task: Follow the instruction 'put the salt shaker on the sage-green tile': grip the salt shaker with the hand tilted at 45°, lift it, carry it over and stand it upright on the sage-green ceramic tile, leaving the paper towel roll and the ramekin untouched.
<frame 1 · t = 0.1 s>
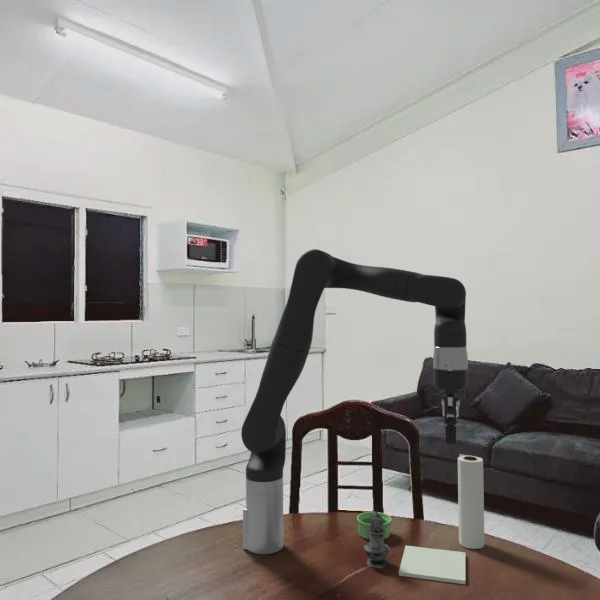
hand: (451, 439, 121), 29 cm above the table, tool pointing down, fingers open, 8 cm apart
salt shaker: (377, 564, 124), on the table
paper towel roll: (471, 544, 134), on the table
sage tile: (433, 565, 123), on the table
ramekin: (374, 535, 140), on the table
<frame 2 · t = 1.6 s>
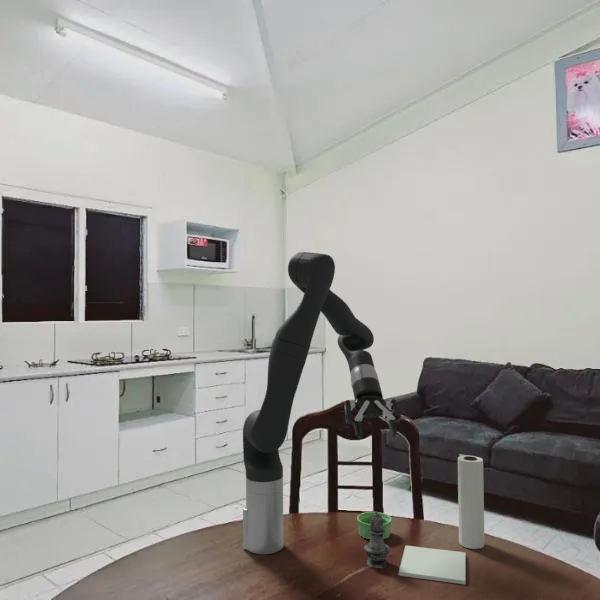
hand: (377, 436, 136), 27 cm above the table, tool tilted 45°, fingers open, 8 cm apart
nothing on the table moved.
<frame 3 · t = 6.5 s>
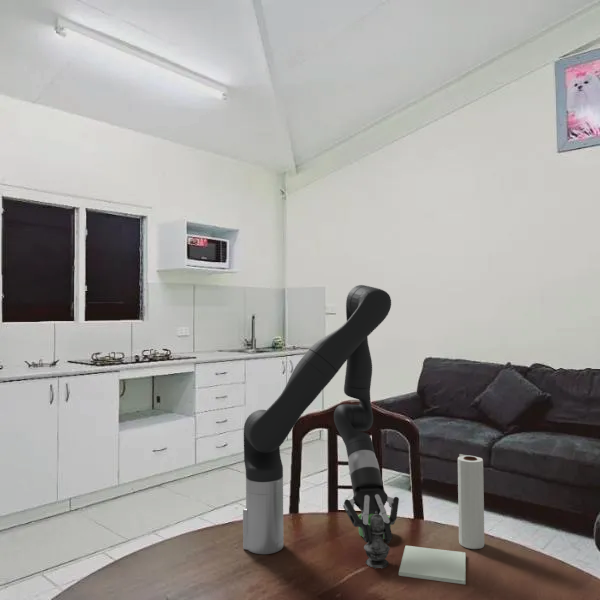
hand: (379, 542, 122), 6 cm above the table, tool tilted 45°, fingers closed on salt shaker, 3 cm apart
salt shaker: (377, 564, 124), on the table, touching gripper
everything else where it was.
when the fingers open (8 cm above the table, at t = 11.2 s): salt shaker drops 1 cm, resting on sage tile.
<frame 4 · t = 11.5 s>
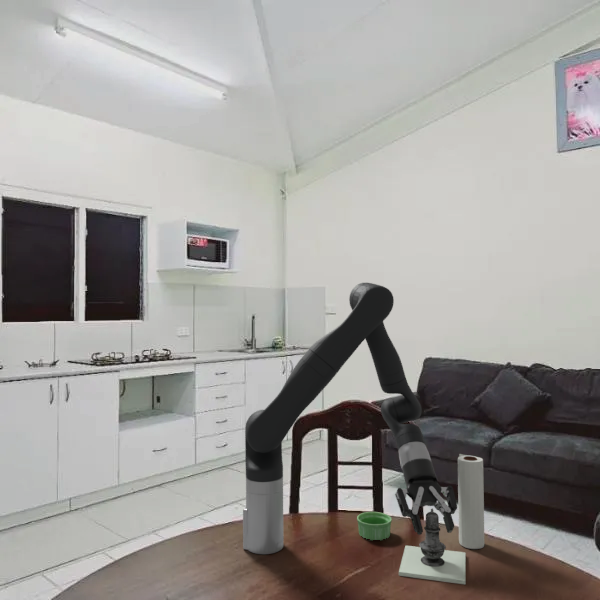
hand: (435, 532, 121), 8 cm above the table, tool tilted 45°, fingers open, 6 cm apart
salt shaker: (432, 562, 123), point 1 cm above the table, touching sage tile
everything else where it was.
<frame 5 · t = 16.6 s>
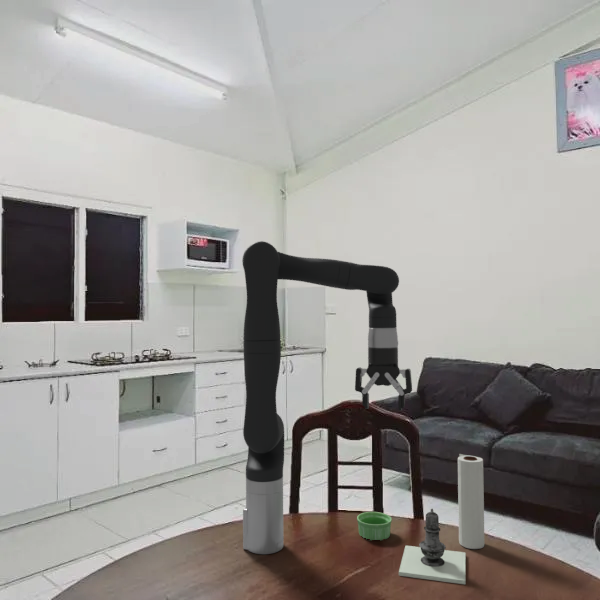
hand: (383, 409, 137), 33 cm above the table, tool pointing down, fingers open, 8 cm apart
nothing on the table moved.
at the end: salt shaker inside the target area on the sage tile (0.3 cm from its centre), point 0.6 cm above the sage tile's base; salt shaker tilted 0°; paper towel roll moved 0.2 cm from its start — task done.
